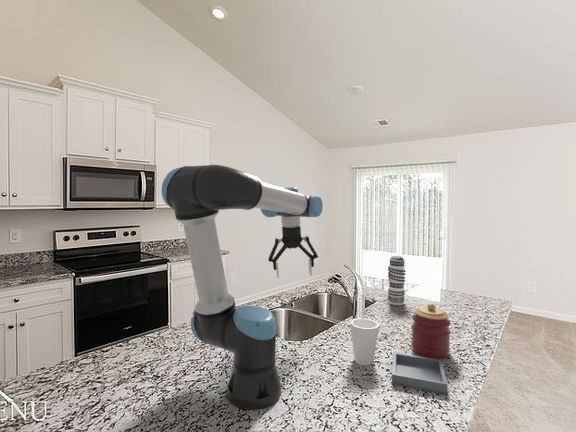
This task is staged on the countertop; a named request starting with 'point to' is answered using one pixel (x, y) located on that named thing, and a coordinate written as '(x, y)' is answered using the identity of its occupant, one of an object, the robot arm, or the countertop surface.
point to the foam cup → (364, 340)
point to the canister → (431, 332)
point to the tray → (419, 373)
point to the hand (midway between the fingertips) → (294, 275)
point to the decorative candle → (396, 280)
